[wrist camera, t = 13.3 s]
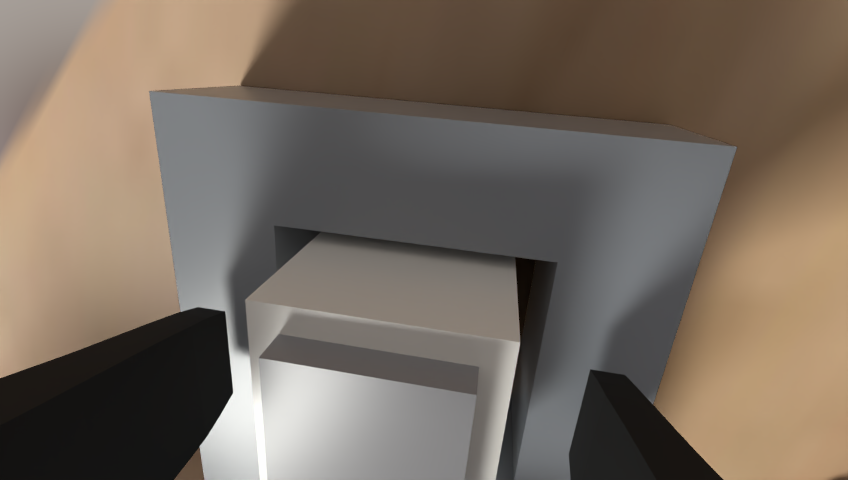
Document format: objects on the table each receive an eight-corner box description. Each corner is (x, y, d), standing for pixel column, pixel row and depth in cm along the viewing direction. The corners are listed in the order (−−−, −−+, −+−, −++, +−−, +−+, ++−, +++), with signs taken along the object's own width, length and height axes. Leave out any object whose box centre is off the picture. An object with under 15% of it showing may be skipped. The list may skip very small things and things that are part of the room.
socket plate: (670, 125, 10) (737, 147, 7) (543, 597, 16) (552, 712, 13) (238, 85, 11) (148, 90, 8) (271, 537, 17) (225, 629, 14)
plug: (492, 355, 13) (482, 580, 7) (353, 333, 13) (242, 527, 8) (512, 219, 11) (522, 369, 6) (356, 200, 12) (220, 321, 6)
